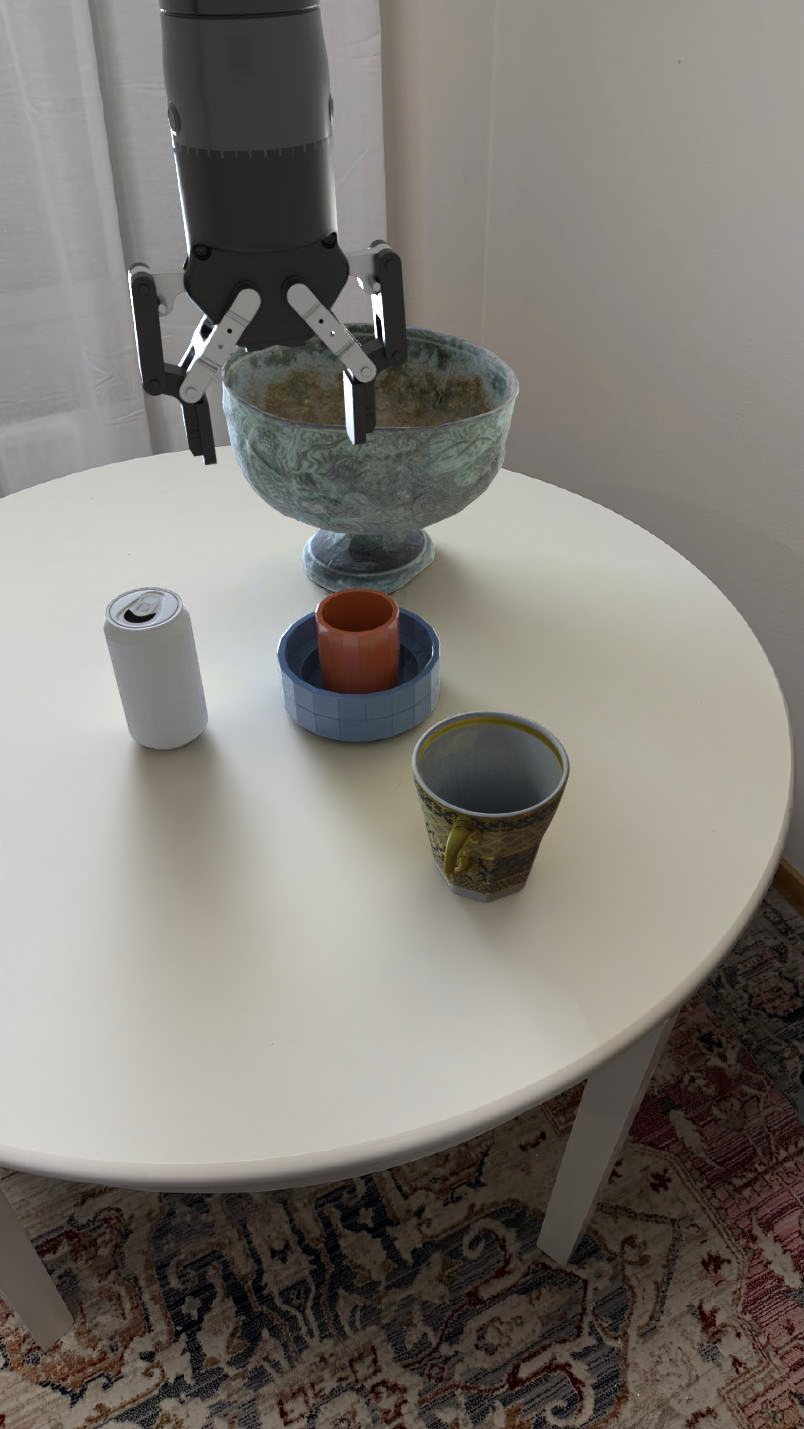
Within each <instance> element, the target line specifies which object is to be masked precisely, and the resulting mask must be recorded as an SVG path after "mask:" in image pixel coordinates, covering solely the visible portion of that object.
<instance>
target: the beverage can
mask: <svg viewBox="0 0 804 1429" xmlns="http://www.w3.org/2000/svg"><path fill="white" fill-rule="evenodd" d="M104 616H105V620H104V623H103V626H102V628H103V633H104V637H105V638H104V639H105V641H106V646H107V649H108V653H109V657H110V662H111V665H112V669H113V674H114V678H115V681H116V685H117V689H118V693H119V697H120V701H121V705H122V708H123V713H124V717H125V719H126V720H125V721H126V726H127V728H128V732H129V735H130V737H131V738H132V739H133V740H134V741H135V742H137V744H139V745H142V746H144V747H147V748H150V749H153V750H158V751H167V750H168V751H170V750H174V749H178V748H181V747H183V746H185V745H187V744H189V743H191V742H192V741H193V740H195V739H197V738H199V736H200V735H201V734H202V733H203V732H204V730H206V727H207V726H208V722H209V713H208V708H207V707H208V706H207V702H206V695H205V690H204V686H203V685H204V684H203V679H202V674H201V669H200V663H199V657H198V652H197V646H196V642H195V636H194V630H193V625H192V618H191V614H190V611H189V610H188V608H187V607H186V606H185V605H184V604H183V600H182V598H181V596H180V595H179V594H177V593H176V592H175V591H174V590H171V589H168V588H164V587H159V586H147V587H146V586H145V587H139V588H135V589H131V590H127V591H126V592H125V591H124V592H123V593H120V594H119V595H117V596H116V597H114V598H113V599H112V600H111V601H110V602H109V603H108V604H107V606H106V607H105V610H104Z"/></svg>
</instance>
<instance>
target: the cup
mask: <svg viewBox="0 0 804 1429" xmlns="http://www.w3.org/2000/svg"><path fill="white" fill-rule="evenodd" d="M398 607H399V605H398V604H397V602H396V600H395V599H394V598H392V596H390V595H388V593H386V594H385V593H383V592H380V591H376V590H373V589H363V588H353V589H347V590H341V591H338V592H334V593H331V594H329V595H327V596H326V597H324V599H322V600H321V601H320V602H319V603H318V604H317V607H316V610H315V611H316V613H315V615H316V626H317V638H318V650H319V662H320V673H321V685H322V690H326V691H331V692H335V693H339V694H369V693H375V692H380V691H386V690H390V689H392V688H395V687H397V686H399V685H400V634H399V608H398Z"/></svg>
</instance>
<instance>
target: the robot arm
mask: <svg viewBox="0 0 804 1429" xmlns="http://www.w3.org/2000/svg"><path fill="white" fill-rule="evenodd" d="M320 4H321V0H158V6H159V10H160V14H159V16H160V27H161V30H160V31H161V61H162V62H161V64H162V76H163V86H164V92H165V99H166V105H167V120H168V126H169V127H170V135H171V140H172V148H173V154H174V162H175V168H176V173H177V174H176V175H177V182H178V190H179V195H180V203H181V211H182V218H183V223H184V232H185V239H186V246H187V247H186V248H187V250H186V255H185V256H186V257H185V260H184V262H183V265H182V267H169V268H151V267H150V266H149V265H148V264H146V263H144V262H139V261H138V262H137V261H136V262H135V263H132V264H131V265H130V266H129V268H128V272H127V276H128V277H127V278H128V284H129V285H128V286H129V290H130V291H129V293H130V302H131V310H132V317H133V326H134V334H135V335H134V336H135V342H136V351H137V359H138V366H139V372H140V376H141V377H140V378H141V383H142V388H143V390H144V391H145V393H146V394H148V395H149V396H151V397H159V396H161V395H164V396H165V395H166V396H169V397H173V398H175V399H176V400H177V401H178V402H179V403H180V406H181V413H182V418H183V424H184V430H185V437H186V441H187V447H188V449H189V451H190V452H191V454H192V456H193V457H202V461H203V465H204V466H211V465H218V460H217V459H218V458H217V452H216V446H215V444H216V443H215V438H214V431H213V424H212V417H211V411H210V404H209V400H208V397H207V393H206V390H207V389H208V387H209V385H210V383H211V382H212V380H213V378H214V377H215V375H216V373H217V372H219V371H220V370H222V367H223V365H224V363H225V362H226V360H227V358H228V357H229V356H230V354H231V353H233V350H234V348H235V347H238V348H240V347H241V348H245V349H246V351H247V352H253V351H261V350H264V349H267V348H269V347H272V346H274V345H280V346H286V347H298V346H305V342H306V341H308V340H310V339H311V338H312V337H314V336H315V335H316V334H317V335H318V336H319V337H320V338H321V339H322V341H323V342H324V343H325V344H326V345H327V346H328V347H329V349H330V350H331V351H332V352H333V353H334V354H335V355H336V356H337V357H338V358H339V359H340V360H341V361H342V362H343V363H344V365H345V366H346V367H347V368H348V370H343V375H344V394H345V413H346V428H347V433H348V436H349V438H350V440H351V442H352V444H353V445H360V444H366V434H368V433H373V431H374V429H375V426H376V408H375V380H376V377H377V375H378V374H379V373H380V372H381V371H383V370H385V369H387V368H389V367H391V366H393V367H400V366H402V365H403V364H404V363H405V362H406V361H407V358H408V349H407V335H406V326H407V322H406V321H407V320H406V311H405V310H406V307H405V294H404V280H403V266H402V265H403V264H402V259H401V257H400V256H399V254H398V253H397V252H396V251H395V250H394V249H393V248H392V247H391V245H390V244H389V243H388V242H387V241H385V240H384V239H374V240H373V241H371V243H370V244H369V246H368V248H364V249H358V250H352V251H345V252H344V251H343V250H342V247H341V244H340V241H339V231H338V230H339V229H338V213H337V212H338V210H337V195H336V194H337V193H336V176H335V175H336V174H335V152H334V134H333V124H334V123H333V121H334V118H335V117H334V116H335V109H334V108H335V106H334V99H333V96H332V93H331V81H330V80H331V79H330V78H331V77H330V65H329V58H328V52H327V46H326V40H325V35H324V29H323V28H324V27H323V22H322V10H321V8H320V6H319V5H320ZM350 277H356V278H357V281H358V283H359V286H360V287H361V288H362V289H363V291H364V292H365V293H366V294H367V295H371V304H372V314H373V323H374V326H375V337H376V339H374V340H372V341H370V342H368V343H366V344H364V345H362V346H361V345H360V344H359V342H358V341H357V340H356V339H355V338H354V336H353V335H352V334H351V333H350V332H349V331H348V329H347V328H346V327H345V326H344V322H342V321H341V319H340V318H339V317H338V316H337V314H336V313H335V312H334V311H333V307H334V305H335V304H336V303H337V301H338V299H339V297H340V295H341V294H342V292H343V290H344V289H345V287H346V285H347V283H348V281H349V279H350ZM182 293H186V295H187V297H188V298H189V300H191V301H192V303H193V304H194V305H195V306H196V307H197V308H198V309H199V310H200V311H201V313H203V314H204V315H203V317H202V318H201V320H200V323H199V324H198V326H197V328H196V329H195V331H194V333H193V336H192V339H191V342H190V345H189V346H188V348H187V350H186V352H185V354H184V355H183V357H182V359H181V360H180V362H179V364H178V365H177V364H174V363H168V362H165V359H164V348H163V340H162V331H161V320H160V318H162V317H167V316H168V315H170V314H171V313H172V311H173V309H174V303H175V302H174V301H175V300H176V298H177V296H178V295H180V294H182Z"/></svg>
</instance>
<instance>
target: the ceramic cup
mask: <svg viewBox="0 0 804 1429" xmlns="http://www.w3.org/2000/svg"><path fill="white" fill-rule="evenodd" d="M411 767H412V776H413V782H414V786H415V791H416V795H417V799H418V803H419V806H420V809H421V811H422V814H423V818H424V823H425V828H426V831H427V835H428V839H429V844H430V849H431V852H432V853H431V854H432V856H433V859H434V864H435V866H436V868H437V870H438V871H439V872H440V875H441V876H442V877H443V879H444V881H445V882H446V883H447V885H448V887H449V889H450V890H451V892H452V893H453V894H456V895H459V896H462V897H466V898H469V899H472V900H476V901H479V902H483V903H490V902H493V901H496V900H499V899H501V898H504V897H507V896H509V895H513V894H515V893H518V892H520V891H522V890H523V889H524V888H525V886H526V883H527V881H528V878H529V876H530V874H531V871H532V868H533V866H534V863H535V860H536V858H537V855H538V851H539V850H540V845H541V843H542V840H543V838H544V836H545V834H546V833H547V831H548V829H549V827H550V826H551V824H552V822H553V819H554V818H555V815H556V813H557V811H558V808H559V805H560V803H561V801H562V799H563V796H564V793H565V790H566V786H567V784H568V780H569V776H570V768H571V767H570V759H569V756H568V753H567V751H566V749H565V747H564V745H563V743H562V742H561V741H560V739H559V738H558V737H557V736H556V735H555V734H554V733H553V732H551V730H549V729H547V728H546V727H545V726H544V725H542V724H540V723H538V722H536V721H535V720H533V719H530V718H528V717H525V716H522V715H519V714H516V713H511V712H507V711H499V710H475V711H469V712H463V713H459V714H455V715H452V716H450V717H447V718H445V719H443V720H441V721H439V722H437V723H436V724H434V725H432V726H431V727H430V728H428V729H427V730H426V731H425V732H424V733H423V735H422V736H421V737H420V738H419V739H418V741H417V742H416V745H415V747H414V750H413V753H412V757H411Z"/></svg>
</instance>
